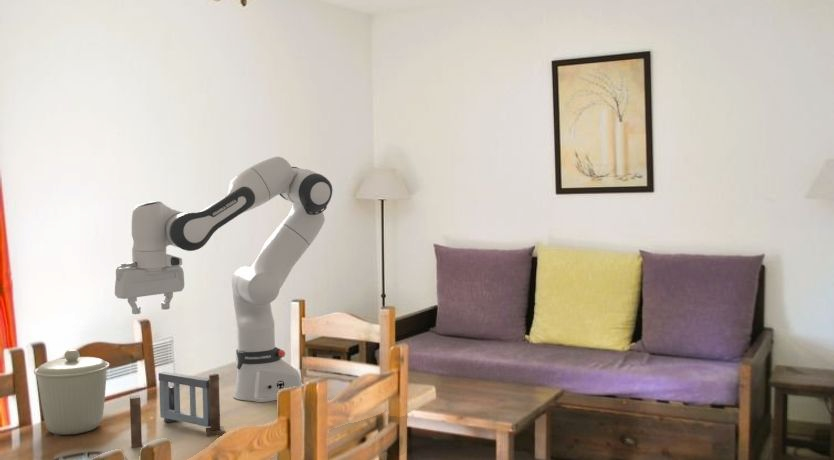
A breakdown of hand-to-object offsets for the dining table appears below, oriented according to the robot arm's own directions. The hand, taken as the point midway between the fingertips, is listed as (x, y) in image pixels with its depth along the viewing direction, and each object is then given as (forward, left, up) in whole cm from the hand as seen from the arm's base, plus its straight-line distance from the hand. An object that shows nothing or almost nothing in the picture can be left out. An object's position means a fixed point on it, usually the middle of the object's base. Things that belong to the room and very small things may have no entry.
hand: (151, 311), depth 216 cm
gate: (-7, +13, -28) cm, 32 cm away
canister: (+20, +4, -29) cm, 36 cm away
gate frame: (-5, +23, -29) cm, 37 cm away
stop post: (-5, +5, -29) cm, 30 cm away
